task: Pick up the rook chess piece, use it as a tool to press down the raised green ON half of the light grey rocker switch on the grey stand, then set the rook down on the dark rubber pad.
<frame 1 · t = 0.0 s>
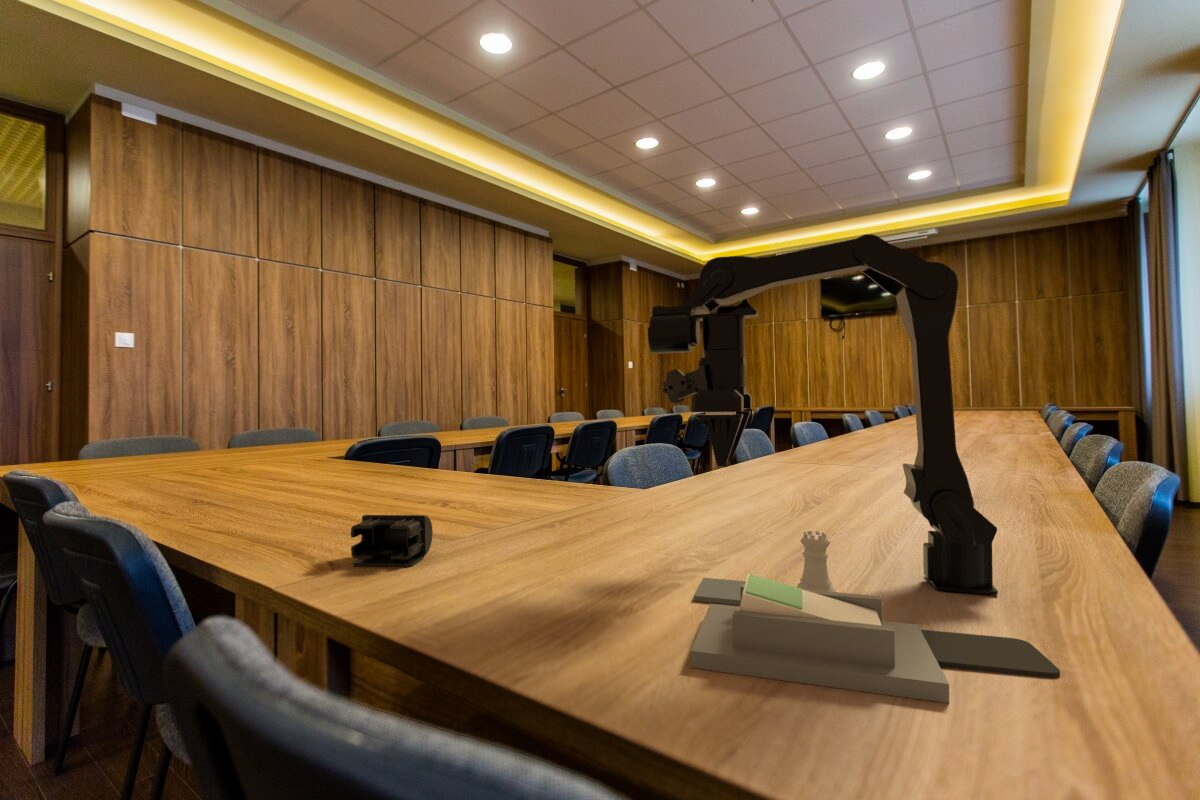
hand: (725, 462, 80), 15 cm above the table, tool pointing down, fingers open, 9 cm apart
phone: (950, 657, 53), on the table
rook chess piece: (816, 604, 66), on the table
grey stand: (809, 653, 53), on the table
rubber pad: (728, 593, 69), on the table
rocker: (809, 609, 53), point 4 cm above the table, hinge at -12.0°
end cap: (392, 562, 86), on the table
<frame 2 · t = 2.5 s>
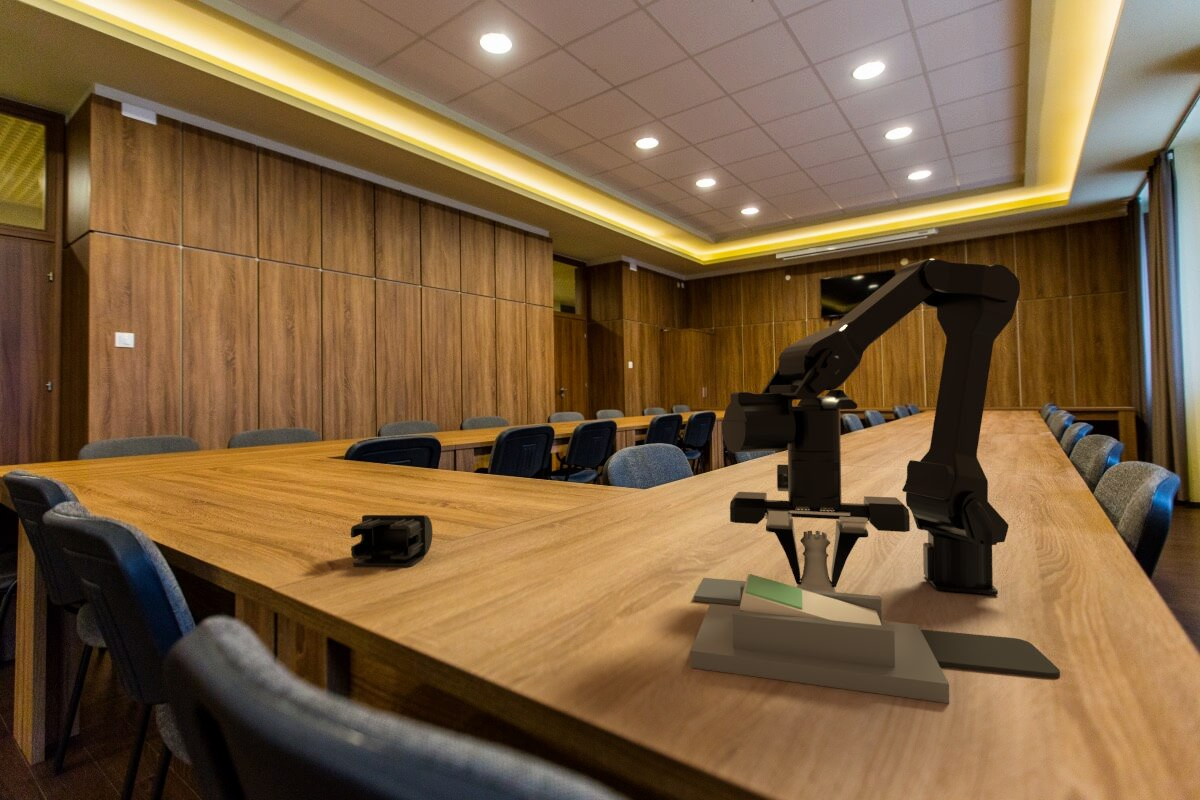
hand: (815, 584, 66), 2 cm above the table, tool pointing down, fingers closed on rook chess piece, 3 cm apart
rook chess piece: (816, 604, 66), on the table, touching gripper
everything else where it was.
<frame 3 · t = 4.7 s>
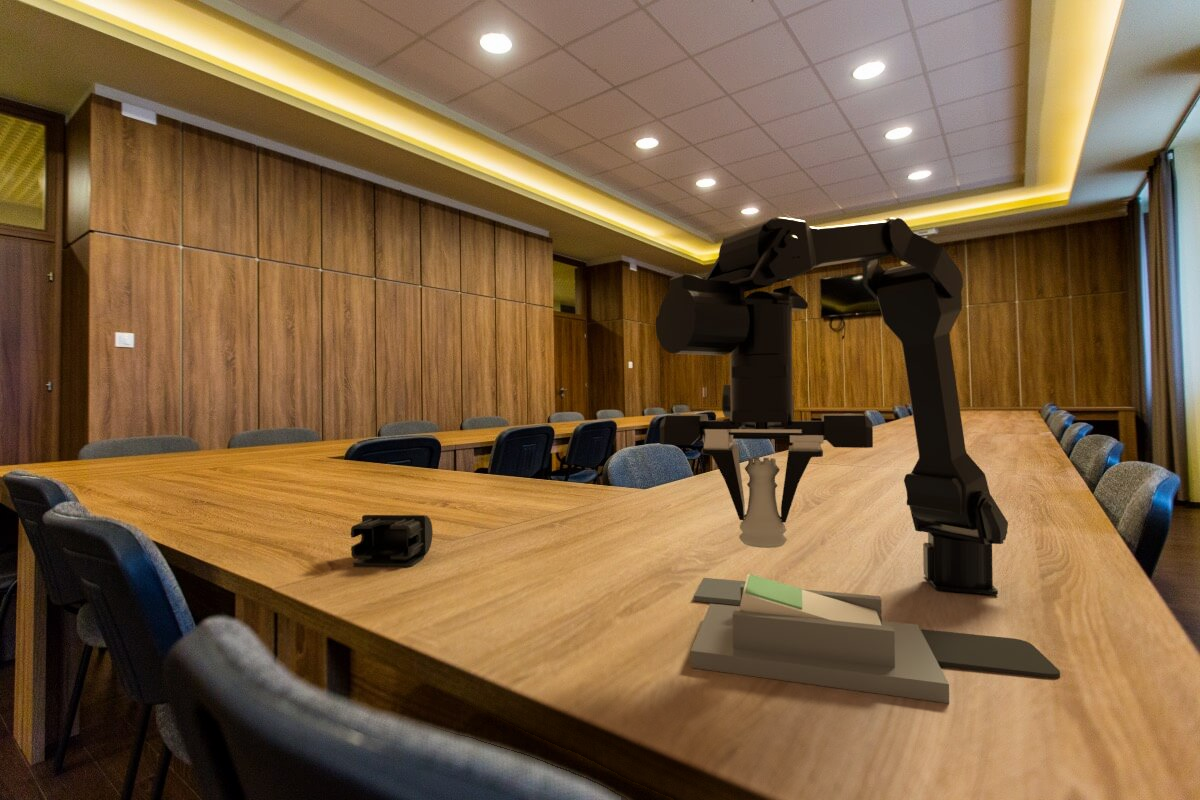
hand: (762, 520, 54), 12 cm above the table, tool pointing down, fingers closed on rook chess piece, 3 cm apart
rook chess piece: (762, 544, 54), point 10 cm above the table, touching gripper
everything else where it was.
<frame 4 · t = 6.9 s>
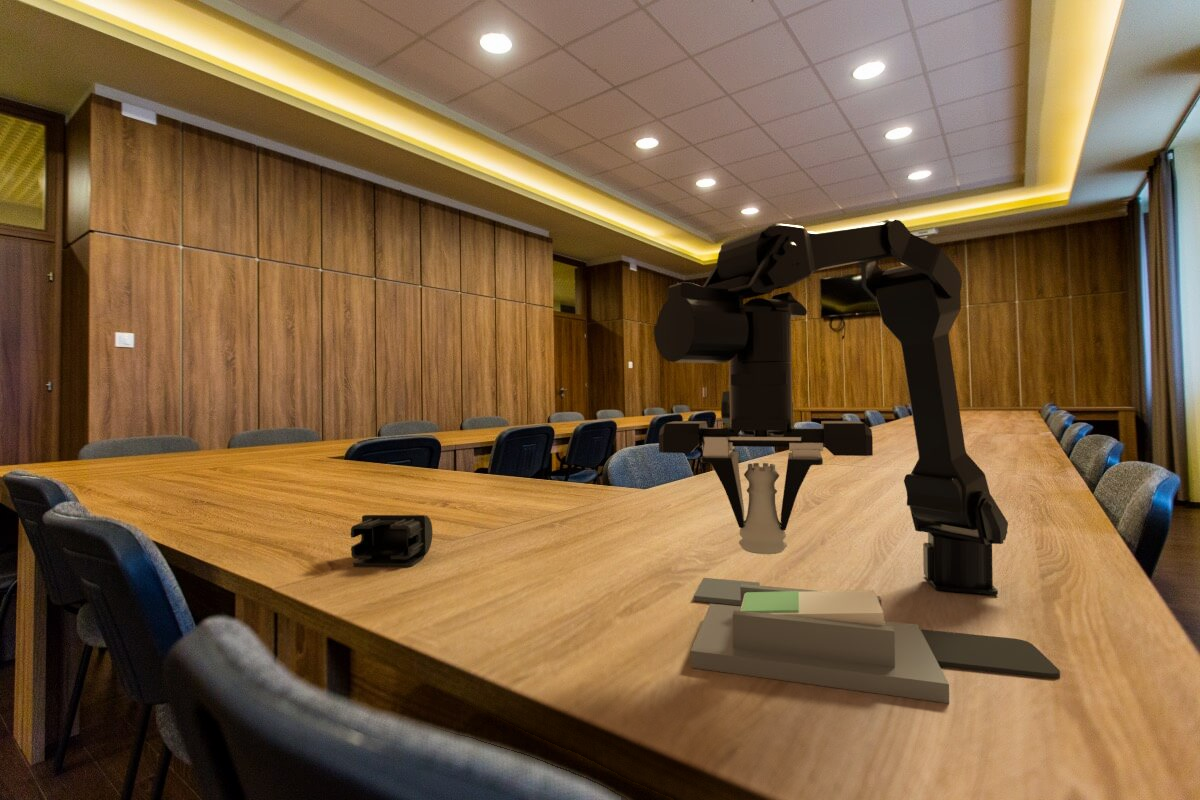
hand: (762, 528, 54), 11 cm above the table, tool pointing down, fingers closed on rook chess piece, 3 cm apart
rook chess piece: (762, 550, 54), point 9 cm above the table, touching gripper
rocker: (808, 609, 53), point 4 cm above the table, hinge at 6.9°
everything else where it was.
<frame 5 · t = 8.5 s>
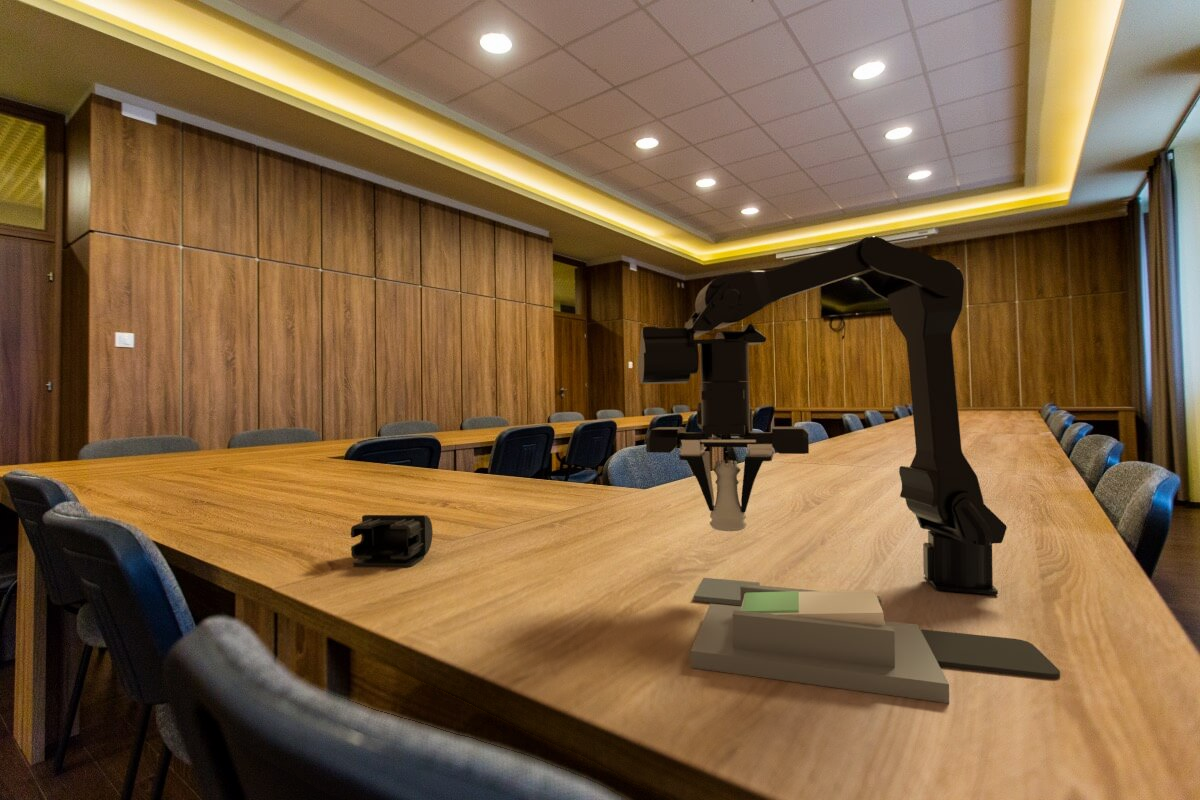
hand: (727, 511, 69), 10 cm above the table, tool pointing down, fingers closed on rook chess piece, 3 cm apart
rook chess piece: (728, 529, 69), point 8 cm above the table, touching gripper
everything else where it was.
when the fingers open (4 cm above the table, at t = 9.8 s): rook chess piece stays where it is, resting on rubber pad.
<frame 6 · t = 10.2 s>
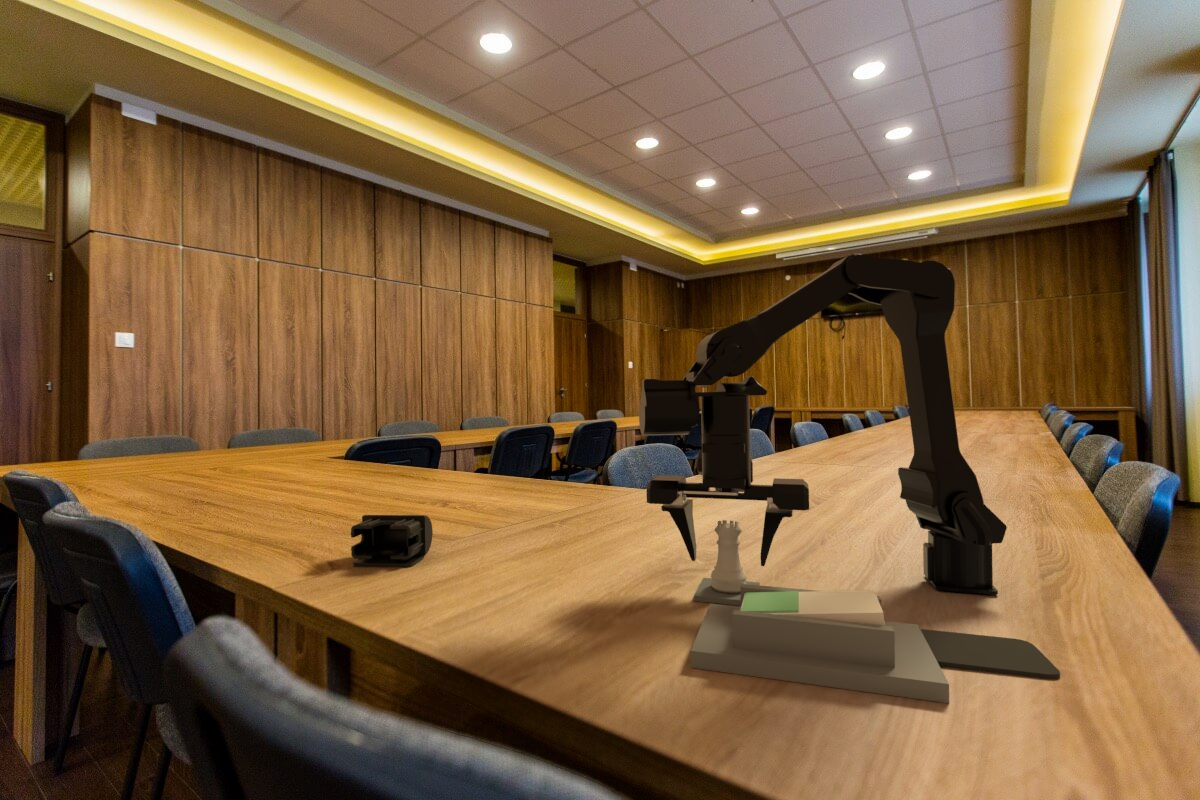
hand: (727, 562, 69), 4 cm above the table, tool pointing down, fingers open, 8 cm apart
rook chess piece: (728, 589, 69), resting on rubber pad
everything else where it was.
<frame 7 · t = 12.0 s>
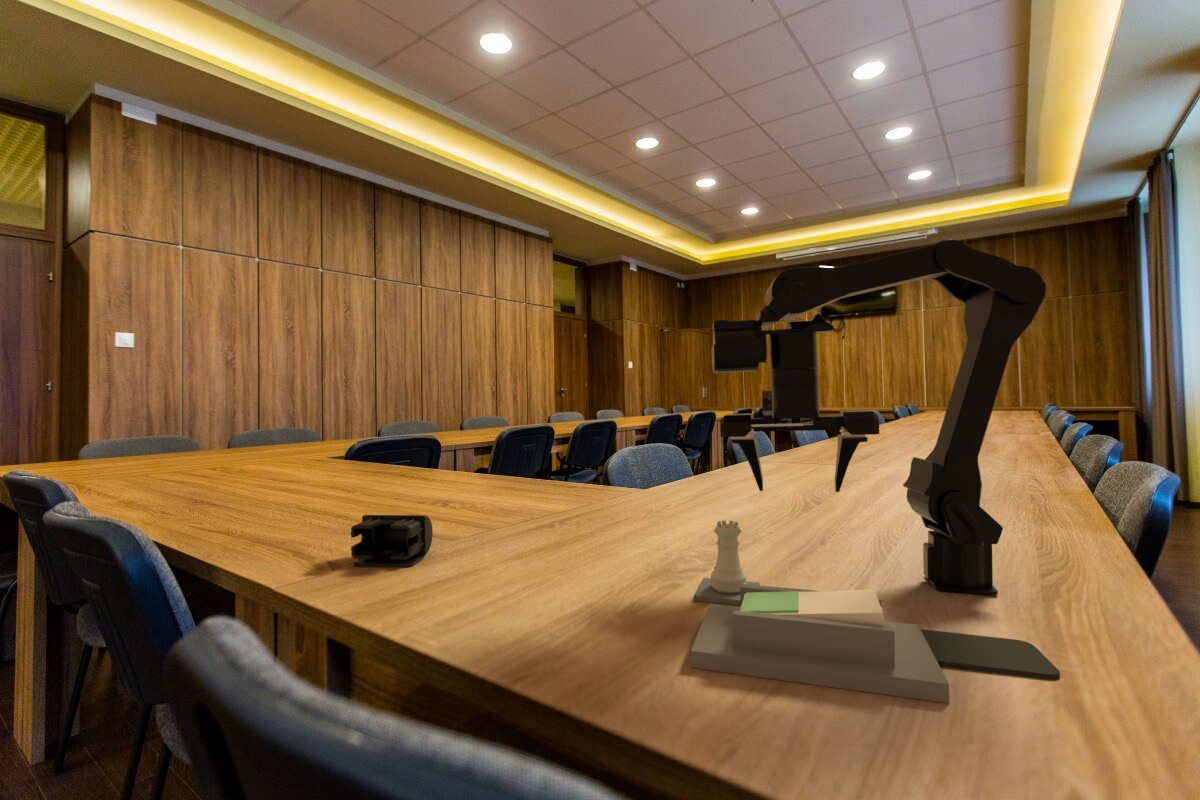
hand: (798, 491, 73), 12 cm above the table, tool pointing down, fingers open, 9 cm apart
nothing on the table moved.
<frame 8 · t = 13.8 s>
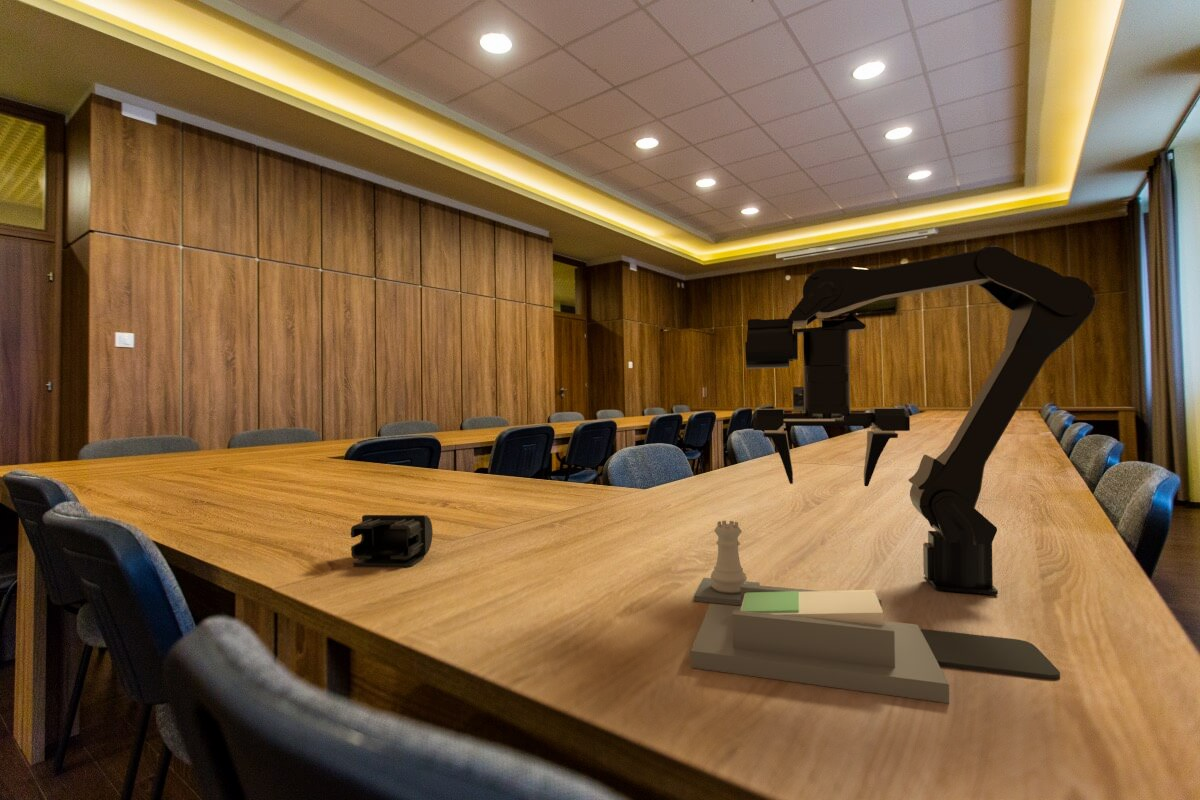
hand: (827, 484, 76), 12 cm above the table, tool pointing down, fingers open, 9 cm apart
nothing on the table moved.
at the end: rocker at +7° (first picture: -12°); rook chess piece 0.1 cm off-centre on the rubber pad, point 0.4 cm above the rubber pad's base; rook chess piece tilted 0° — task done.
